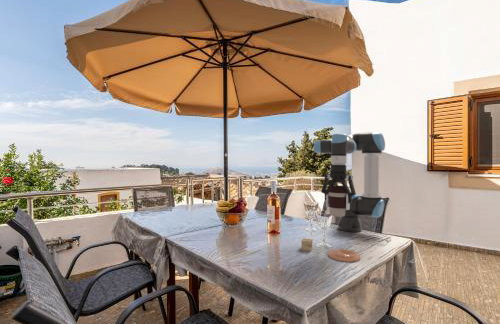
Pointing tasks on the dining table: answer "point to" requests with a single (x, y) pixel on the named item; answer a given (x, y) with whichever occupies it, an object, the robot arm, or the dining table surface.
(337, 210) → the coffee cup
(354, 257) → the saucer
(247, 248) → the dining table surface
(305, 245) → the tan cube
